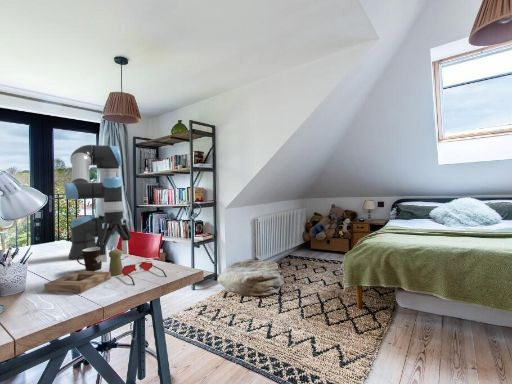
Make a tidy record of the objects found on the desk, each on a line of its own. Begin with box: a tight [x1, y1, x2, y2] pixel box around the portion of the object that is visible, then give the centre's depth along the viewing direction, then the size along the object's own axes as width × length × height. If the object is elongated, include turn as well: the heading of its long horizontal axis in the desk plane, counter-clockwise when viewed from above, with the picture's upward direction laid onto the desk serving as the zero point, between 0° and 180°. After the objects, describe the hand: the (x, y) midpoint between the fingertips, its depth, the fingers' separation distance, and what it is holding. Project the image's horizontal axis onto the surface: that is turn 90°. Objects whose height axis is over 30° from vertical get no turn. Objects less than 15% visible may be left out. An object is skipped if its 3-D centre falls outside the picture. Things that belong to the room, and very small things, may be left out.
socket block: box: [43, 270, 112, 294], centre depth 110 cm, size 16×16×3 cm
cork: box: [108, 249, 124, 277], centre depth 123 cm, size 6×6×11 cm
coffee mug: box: [76, 247, 103, 271], centre depth 130 cm, size 12×9×10 cm
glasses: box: [121, 260, 168, 286], centre depth 119 cm, size 14×16×5 cm
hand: (115, 257), depth 123 cm, fingers open, 13 cm apart
